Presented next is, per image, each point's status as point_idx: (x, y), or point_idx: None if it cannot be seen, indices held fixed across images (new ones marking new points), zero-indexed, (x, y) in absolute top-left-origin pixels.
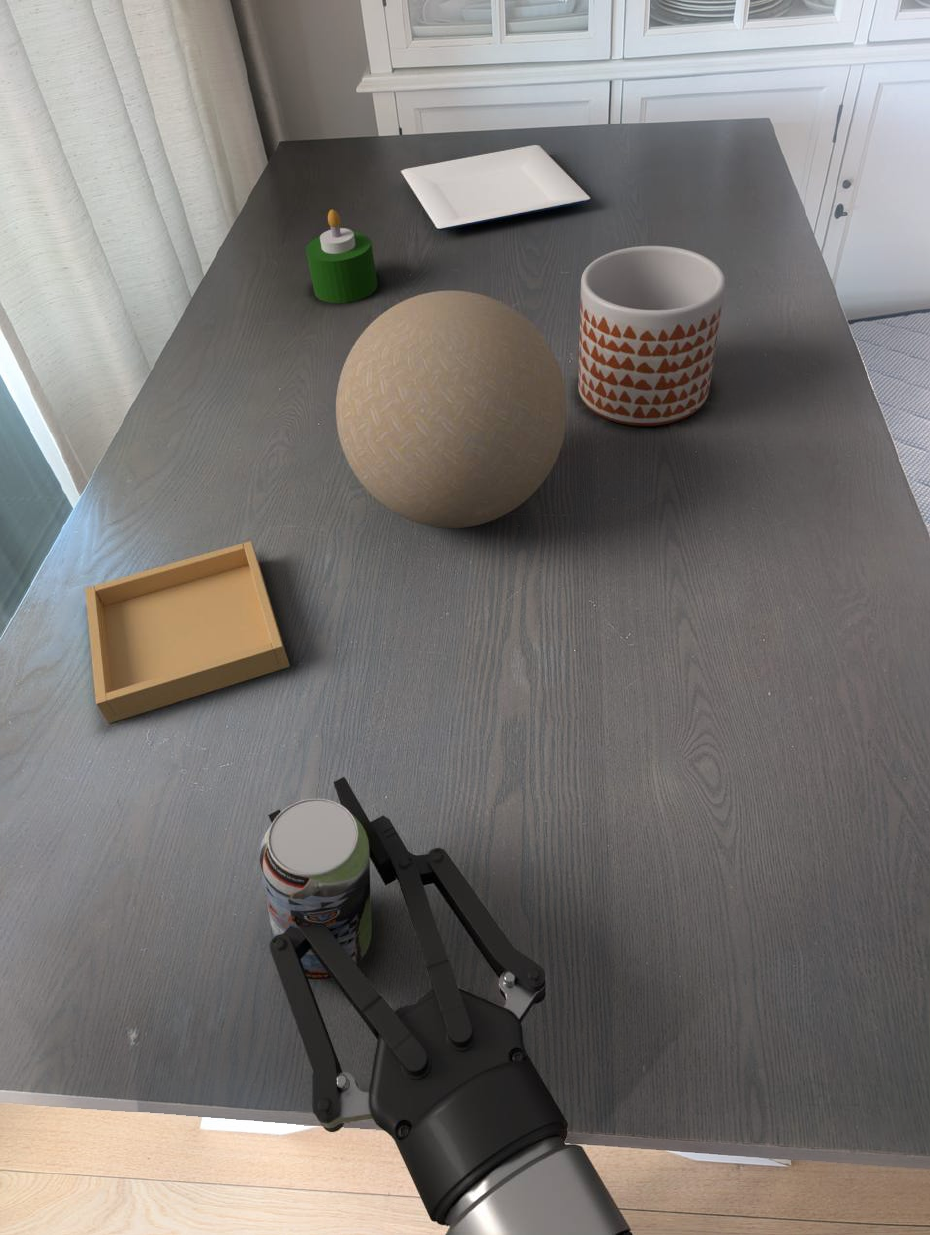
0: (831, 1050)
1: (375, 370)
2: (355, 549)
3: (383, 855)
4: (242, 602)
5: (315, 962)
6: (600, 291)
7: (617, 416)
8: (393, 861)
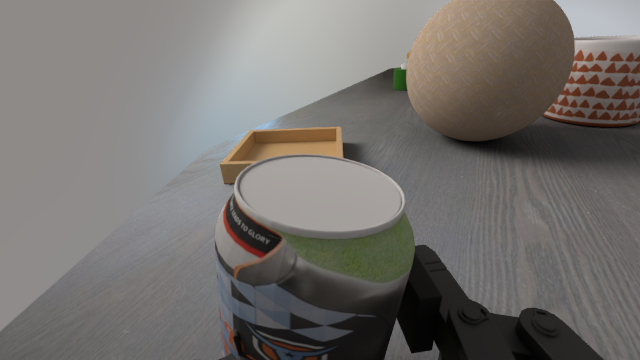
0: None
1: (445, 12)
2: (398, 145)
3: (428, 288)
4: (326, 151)
5: None
6: None
7: (574, 118)
8: (442, 308)
